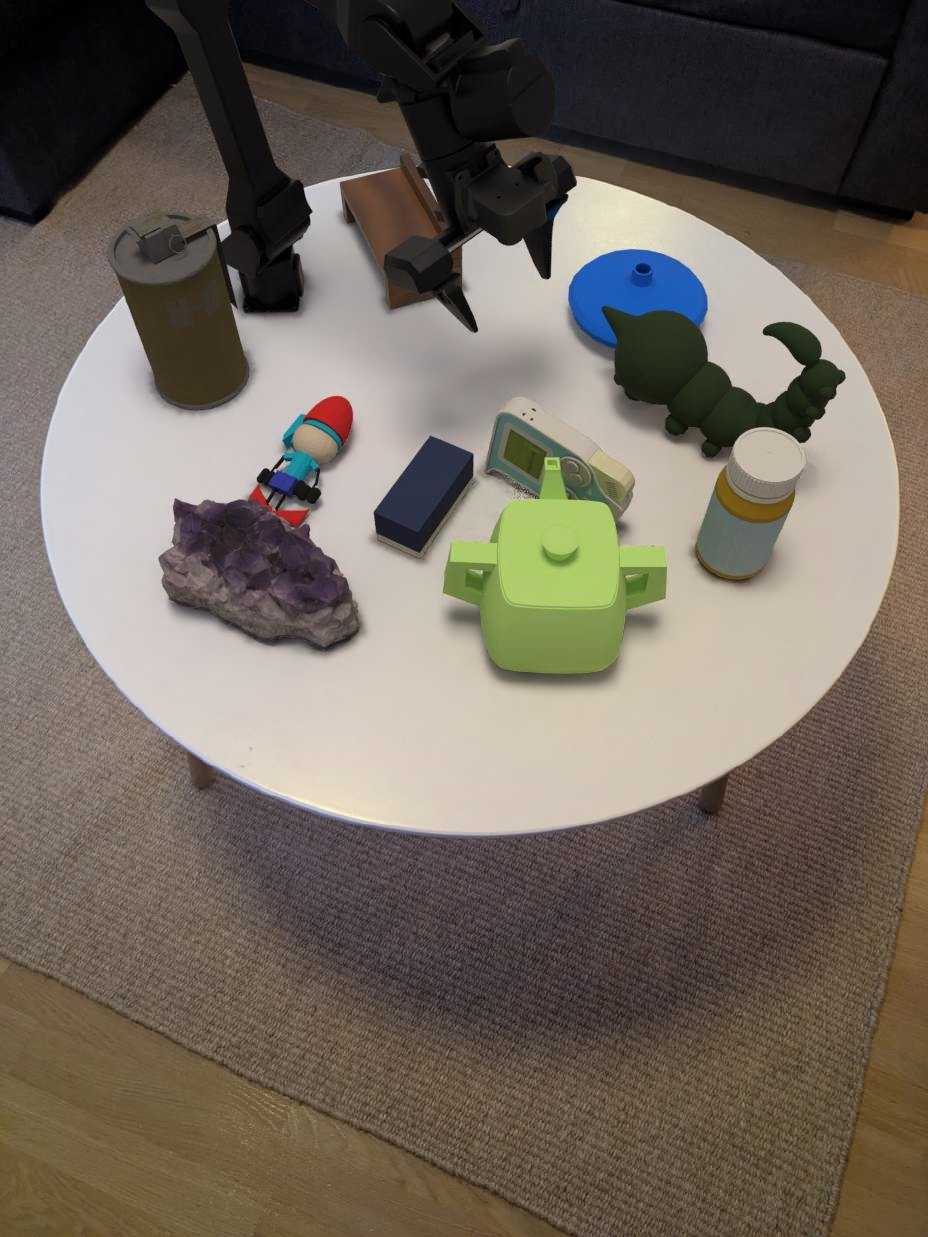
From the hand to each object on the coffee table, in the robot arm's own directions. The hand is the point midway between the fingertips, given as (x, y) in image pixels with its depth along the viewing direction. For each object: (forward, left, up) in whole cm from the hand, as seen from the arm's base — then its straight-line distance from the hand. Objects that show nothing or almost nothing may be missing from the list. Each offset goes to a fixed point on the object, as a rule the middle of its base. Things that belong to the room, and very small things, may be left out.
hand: (510, 304), depth 95 cm
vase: (+15, +14, -15) cm, 26 cm away
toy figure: (-21, -7, -15) cm, 27 cm away
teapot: (+3, -23, -15) cm, 28 cm away
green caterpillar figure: (+20, -2, -15) cm, 25 cm away
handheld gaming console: (+4, -12, -15) cm, 20 cm away
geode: (-24, -22, -15) cm, 36 cm away
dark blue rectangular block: (-9, -13, -15) cm, 22 cm away
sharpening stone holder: (-12, +26, -15) cm, 33 cm away
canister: (-33, +7, -15) cm, 37 cm away
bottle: (+21, -19, -15) cm, 32 cm away
